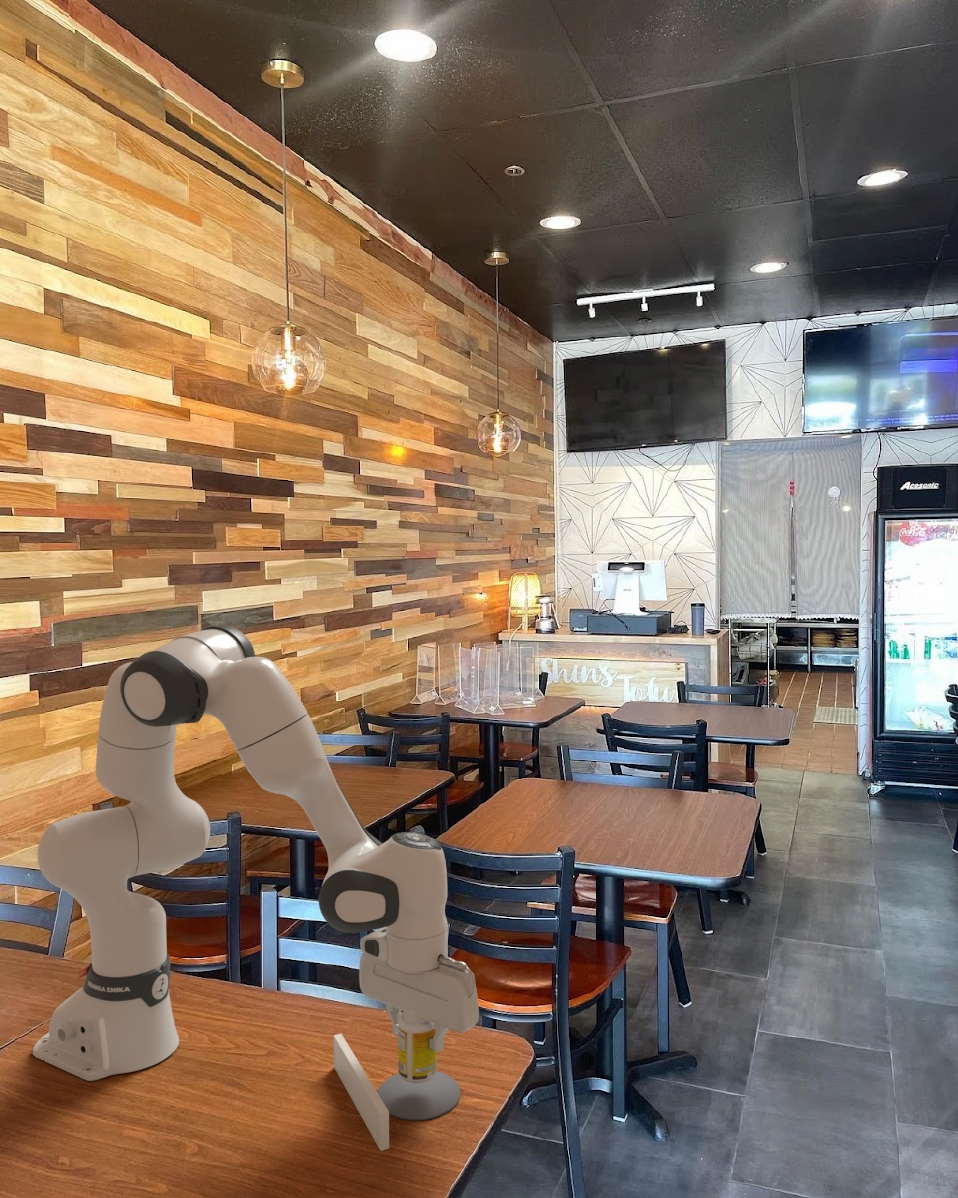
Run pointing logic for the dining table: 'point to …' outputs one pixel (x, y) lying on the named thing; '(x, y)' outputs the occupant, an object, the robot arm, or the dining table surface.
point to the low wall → (362, 1092)
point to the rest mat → (419, 1097)
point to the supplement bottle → (415, 1048)
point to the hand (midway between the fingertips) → (417, 1041)
